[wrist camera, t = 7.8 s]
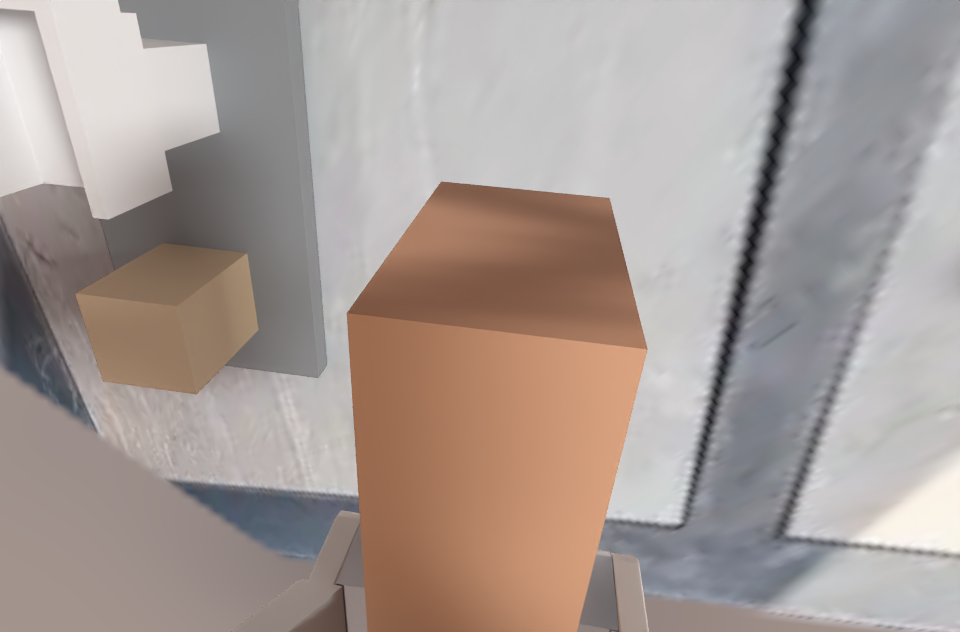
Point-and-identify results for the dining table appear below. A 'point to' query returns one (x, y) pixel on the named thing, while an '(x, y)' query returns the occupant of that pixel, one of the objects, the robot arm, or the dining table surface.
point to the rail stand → (175, 176)
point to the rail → (491, 409)
